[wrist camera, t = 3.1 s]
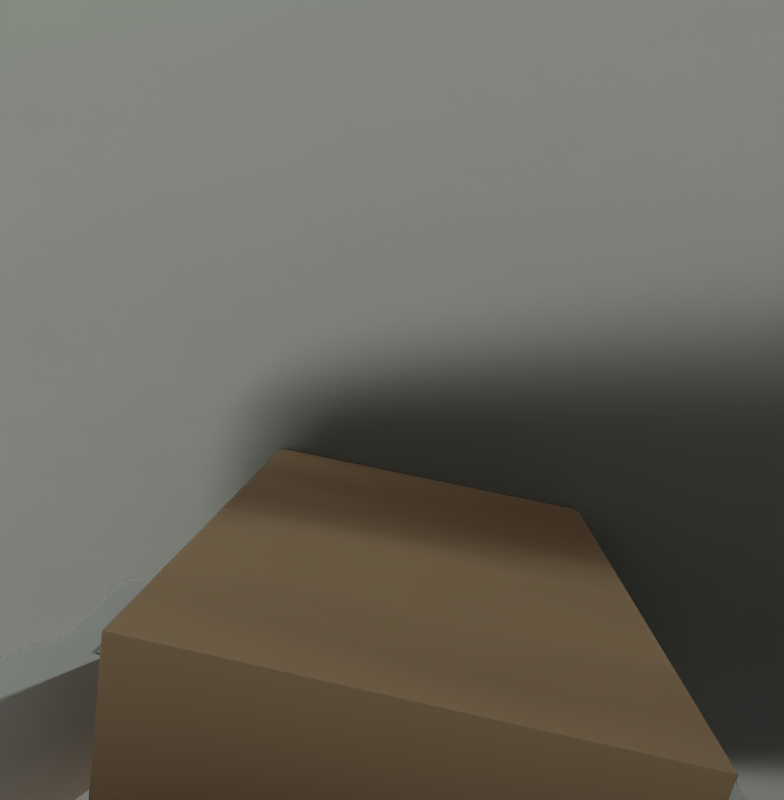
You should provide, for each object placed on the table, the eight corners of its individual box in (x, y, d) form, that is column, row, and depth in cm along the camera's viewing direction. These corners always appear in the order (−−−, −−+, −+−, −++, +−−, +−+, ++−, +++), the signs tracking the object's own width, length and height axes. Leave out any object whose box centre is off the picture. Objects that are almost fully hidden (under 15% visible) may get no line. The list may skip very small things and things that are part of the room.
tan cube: (281, 448, 9) (101, 630, 4) (577, 509, 9) (737, 774, 4) (244, 698, 10) (68, 1069, 5) (508, 758, 10) (570, 1203, 5)
